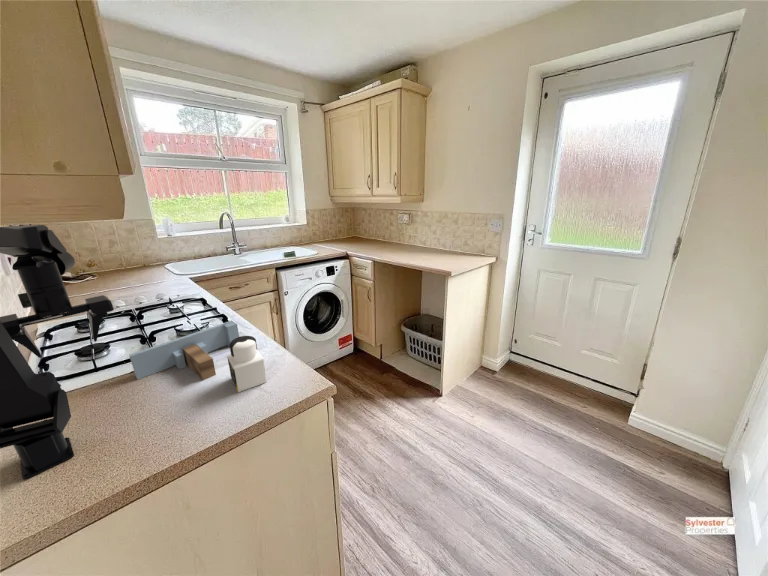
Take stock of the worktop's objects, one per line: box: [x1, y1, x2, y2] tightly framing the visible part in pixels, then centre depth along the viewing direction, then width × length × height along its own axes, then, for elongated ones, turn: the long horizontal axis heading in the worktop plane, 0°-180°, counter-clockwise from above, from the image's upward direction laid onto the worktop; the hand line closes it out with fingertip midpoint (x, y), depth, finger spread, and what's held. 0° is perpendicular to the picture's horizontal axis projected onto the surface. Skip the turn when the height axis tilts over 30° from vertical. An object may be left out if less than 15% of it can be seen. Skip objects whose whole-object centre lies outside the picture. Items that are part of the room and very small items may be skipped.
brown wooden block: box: [182, 343, 217, 381], centre depth 84 cm, size 12×3×5 cm, turn 50°
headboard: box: [129, 320, 240, 380], centre depth 88 cm, size 4×26×7 cm, turn 140°
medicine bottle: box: [227, 335, 268, 393], centre depth 78 cm, size 7×7×12 cm
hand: (69, 348), depth 71 cm, fingers open, 9 cm apart
